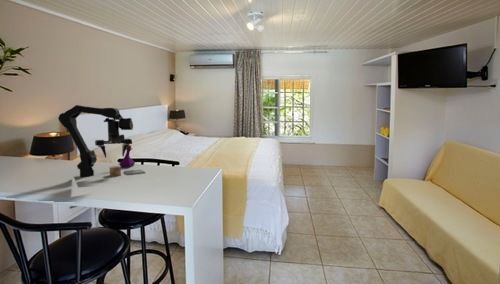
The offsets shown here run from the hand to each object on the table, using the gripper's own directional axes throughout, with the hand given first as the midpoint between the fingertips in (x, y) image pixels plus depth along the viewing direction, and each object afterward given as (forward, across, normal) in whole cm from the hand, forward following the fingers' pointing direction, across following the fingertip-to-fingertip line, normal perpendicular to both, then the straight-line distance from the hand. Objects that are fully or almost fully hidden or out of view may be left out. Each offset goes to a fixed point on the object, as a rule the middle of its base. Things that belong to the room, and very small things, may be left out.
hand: (114, 157), depth 170 cm
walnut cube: (+11, 0, 0) cm, 11 cm away
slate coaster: (+11, +11, +2) cm, 16 cm away
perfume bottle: (+11, +11, +21) cm, 26 cm away
